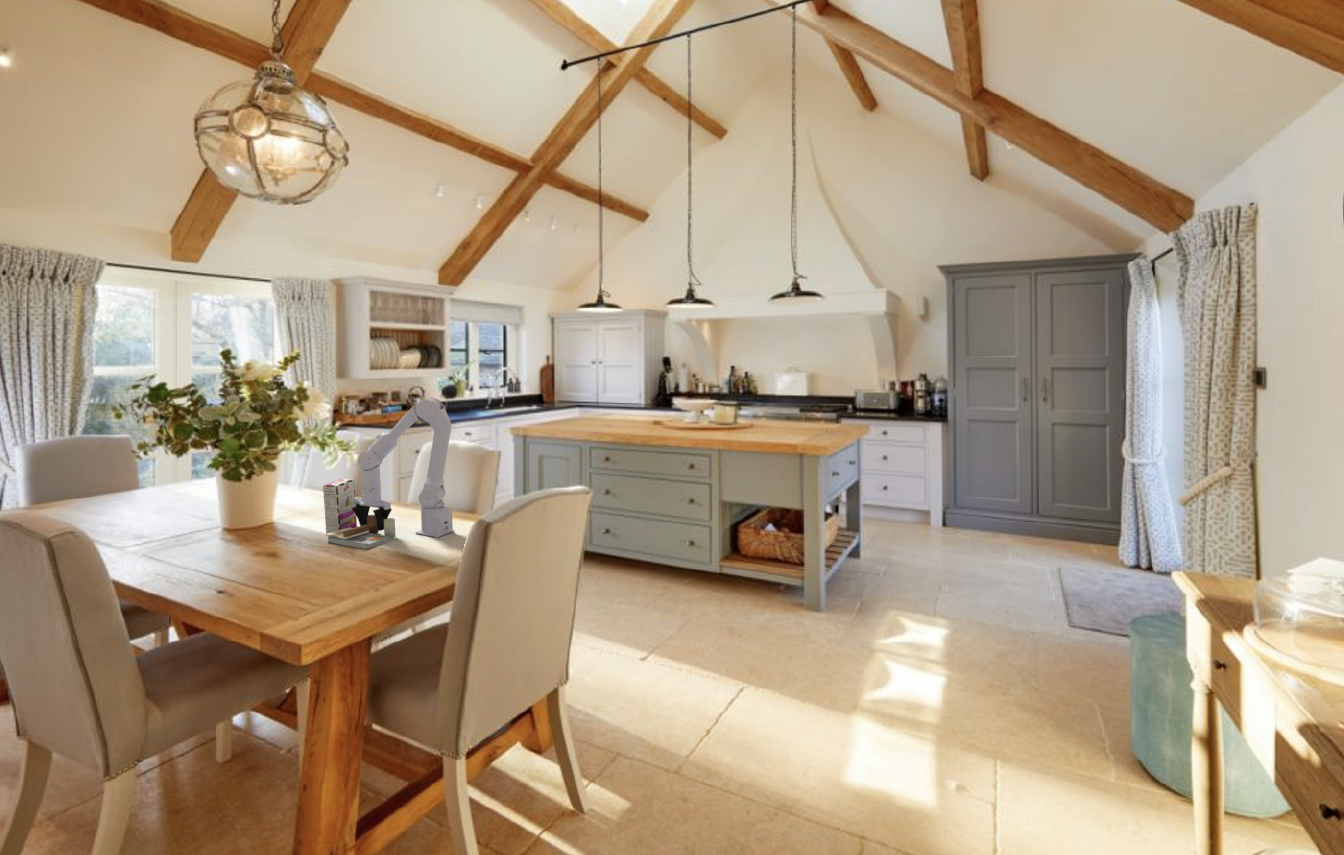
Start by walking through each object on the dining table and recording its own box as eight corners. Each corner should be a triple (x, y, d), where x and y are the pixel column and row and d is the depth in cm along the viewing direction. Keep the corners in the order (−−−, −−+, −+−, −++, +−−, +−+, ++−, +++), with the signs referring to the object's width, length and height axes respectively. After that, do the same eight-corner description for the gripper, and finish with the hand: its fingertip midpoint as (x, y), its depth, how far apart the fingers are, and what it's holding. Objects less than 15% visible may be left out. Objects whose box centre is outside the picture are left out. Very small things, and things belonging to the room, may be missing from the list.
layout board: (389, 541, 204) (389, 536, 204) (365, 548, 196) (365, 543, 196) (352, 535, 210) (352, 530, 210) (328, 542, 202) (327, 537, 202)
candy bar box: (342, 525, 221) (340, 478, 219) (357, 526, 221) (355, 478, 219) (324, 534, 210) (322, 484, 208) (340, 535, 210) (337, 485, 208)
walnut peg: (380, 533, 213) (379, 515, 212) (372, 535, 210) (371, 517, 209) (373, 531, 214) (372, 514, 214) (365, 534, 211) (364, 516, 211)
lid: (368, 532, 207) (368, 524, 207) (345, 539, 199) (345, 531, 199) (349, 529, 210) (349, 521, 210) (326, 535, 202) (325, 528, 202)
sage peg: (397, 537, 209) (397, 518, 208) (389, 539, 206) (389, 521, 205) (390, 535, 210) (389, 517, 209) (382, 538, 207) (381, 519, 206)
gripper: (344, 487, 210) (346, 528, 211) (377, 492, 204) (379, 534, 205) (362, 483, 216) (364, 523, 218) (395, 487, 210) (396, 529, 212)
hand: (372, 528), depth 212 cm, fingers open, 7 cm apart
